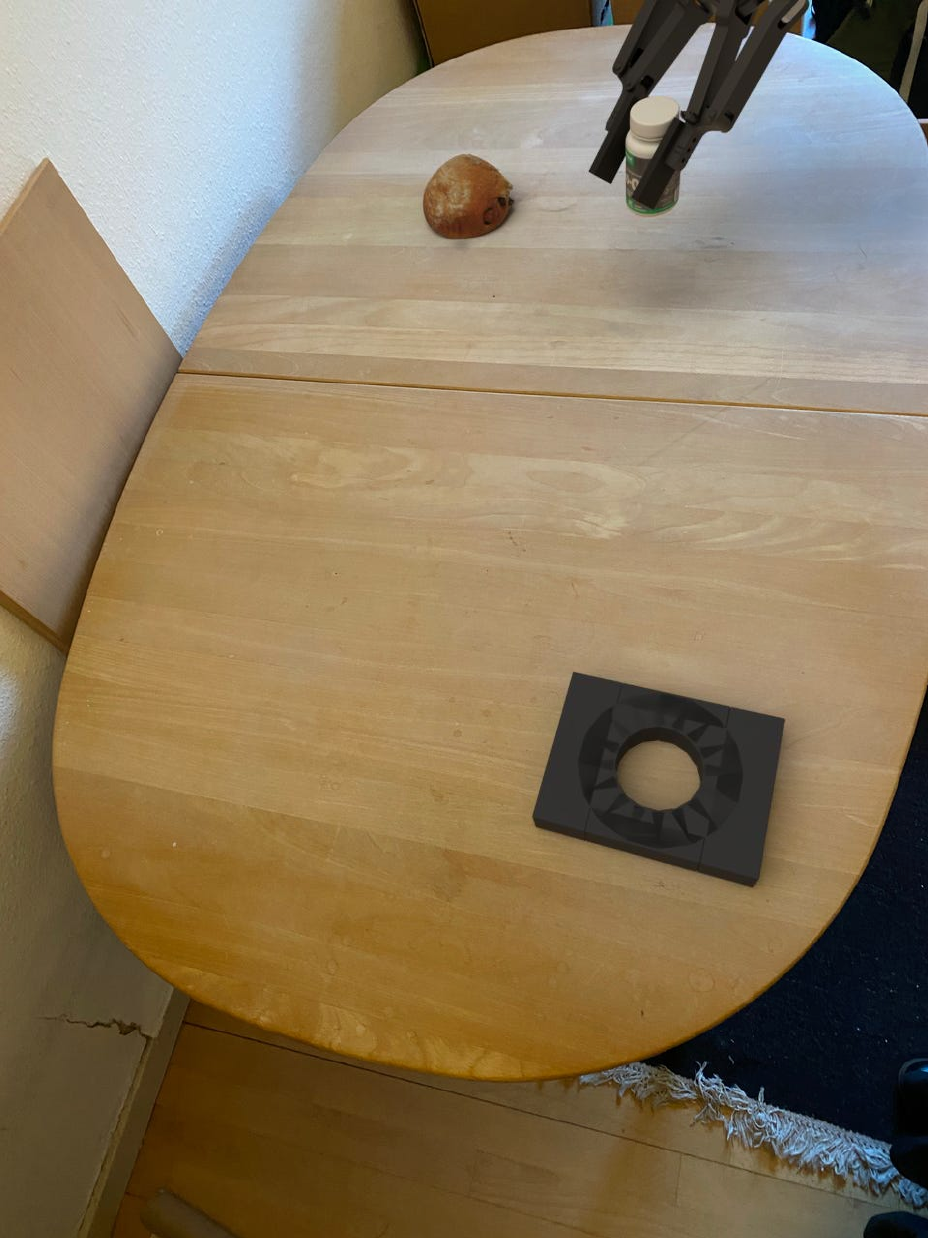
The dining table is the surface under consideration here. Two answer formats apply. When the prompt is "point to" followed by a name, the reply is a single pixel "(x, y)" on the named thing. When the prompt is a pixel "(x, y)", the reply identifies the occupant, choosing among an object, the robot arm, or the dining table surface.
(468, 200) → the bread roll
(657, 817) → the black rectangular holder
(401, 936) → the dining table surface
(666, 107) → the pill bottle
